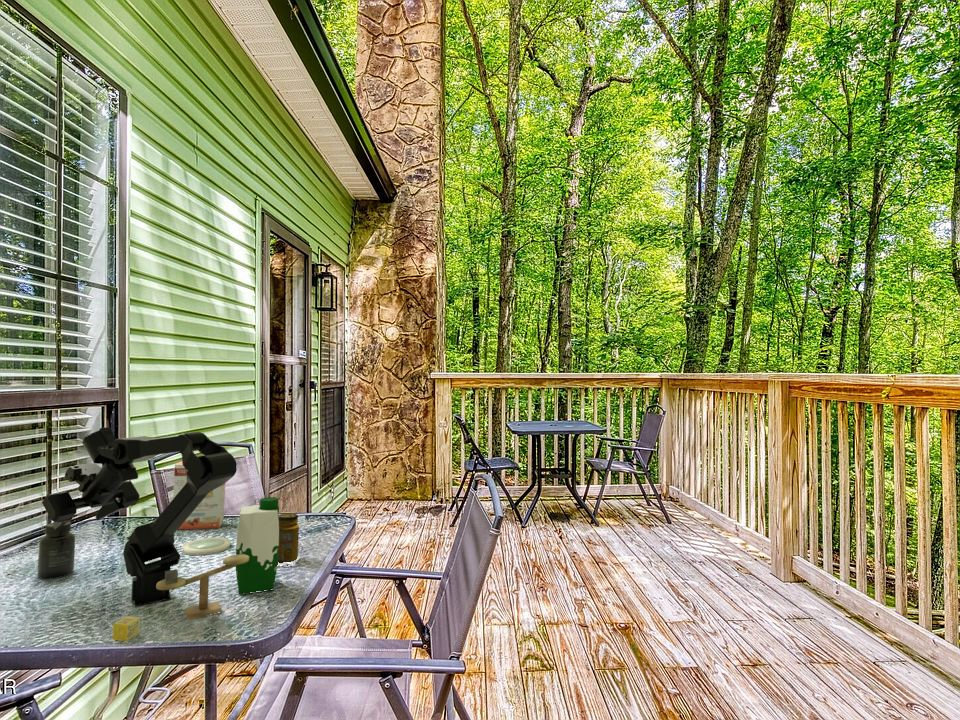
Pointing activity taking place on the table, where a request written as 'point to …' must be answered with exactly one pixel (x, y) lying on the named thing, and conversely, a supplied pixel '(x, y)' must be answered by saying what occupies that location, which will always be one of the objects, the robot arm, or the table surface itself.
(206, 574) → the balance
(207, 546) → the dish
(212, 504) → the cracker box
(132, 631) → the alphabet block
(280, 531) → the condiment
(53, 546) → the supplement bottle
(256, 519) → the milk carton
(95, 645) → the table surface
